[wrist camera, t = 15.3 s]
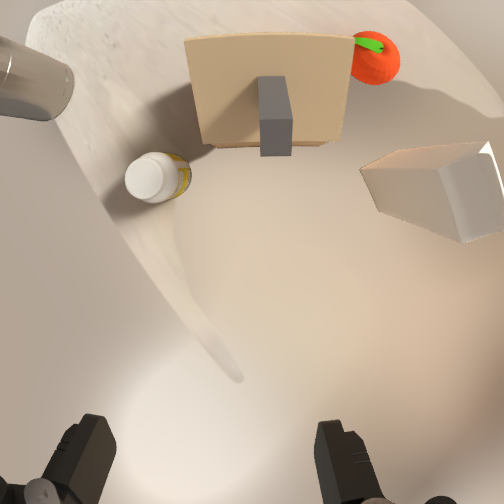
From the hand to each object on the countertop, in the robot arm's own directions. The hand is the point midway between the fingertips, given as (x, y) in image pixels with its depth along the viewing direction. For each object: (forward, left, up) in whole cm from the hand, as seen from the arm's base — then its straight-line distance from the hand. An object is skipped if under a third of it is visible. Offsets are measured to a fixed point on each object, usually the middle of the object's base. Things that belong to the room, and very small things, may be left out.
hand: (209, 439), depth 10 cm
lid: (+3, +16, -17) cm, 23 cm away
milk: (+18, +8, -31) cm, 36 cm away
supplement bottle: (-9, +9, -31) cm, 33 cm away
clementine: (+15, +24, -31) cm, 41 cm away
